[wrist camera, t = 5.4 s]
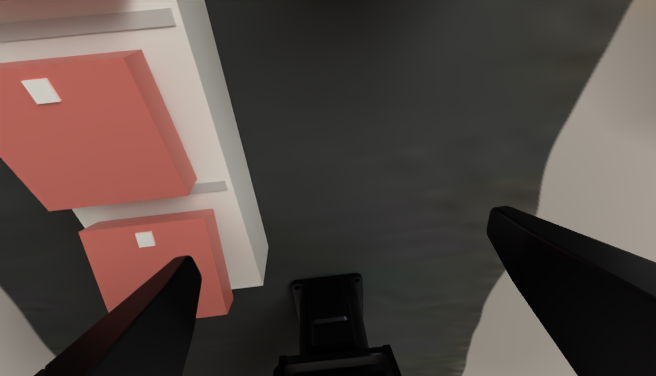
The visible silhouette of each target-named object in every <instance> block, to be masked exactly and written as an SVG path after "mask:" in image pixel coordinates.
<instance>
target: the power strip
mask: <svg viewBox="0 0 656 376" xmlns="http://www.w3.org/2000/svg"><path fill="white" fill-rule="evenodd" d="M140 49H142V52H143V54H144V56H145V59H146V61H147V63H148V66H149V68H150V70H151V73H152V75H153V77H154V80H155V82H156V84H157V86H158V89H159V91H160V93H161V96H162V98H163V100H164V103H165V105H166V107H167V110H168V112H169V114H170V117H171V119H172V121H173V124H174V126H175V128H176V130H177V133H178V135H179V137H180V140H181V142H182V144H183V147H184V149H185V151H186V154H187V156H188V158H189V161H190V163H191V165H192V168H193V170H194V172H195V174H196V177H197V180H196V182H195V184H194V186H193V188H192V190H191V192H190V194H189V196H180V197H172V198H163V199H154V200H145V201H136V202H127V203H118V204H109V205H100V206H91V207H82V208H73V209H72V210H73V212H74V213H75V215H76V216H77V217H78V219H79V220H80V222H81V223H82V225H83V226H84V228H87V227H89V226H91V225H93V224H95V223H97V222H100V221H109V220H118V219H126V218H135V217H144V216H153V215H162V214H171V213H179V212H188V211H197V210H206V209H213V210H214V214H215V218H216V223H217V227H218V232H219V236H220V241H221V245H222V250H223V254H224V259H225V263H226V267H227V272H228V276H229V281H230V285H231V289H239V288H247V287H255V286H263V282H264V274H265V267H266V260H267V253H268V243H267V239H266V236H265V232H264V228H263V224H262V220H261V216H260V212H259V209H258V205H257V201H256V197H255V193H254V189H253V186H252V182H251V178H250V174H249V170H248V166H247V162H246V159H245V155H244V151H243V147H242V143H241V139H240V136H239V132H238V128H237V124H236V120H235V116H234V112H233V109H232V105H231V101H230V97H229V93H228V89H227V86H226V82H225V78H224V74H223V70H222V66H221V62H220V59H219V55H218V51H217V47H216V43H215V39H214V36H213V32H212V28H211V24H210V20H209V16H208V12H207V9H206V5H205V1H204V0H3V1H0V63H5V62H15V61H26V60H36V59H46V58H57V57H67V56H77V55H88V54H98V53H109V52H119V51H129V50H140Z"/></svg>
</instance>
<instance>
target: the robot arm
mask: <svg viewBox="0 0 656 376" xmlns="http://www.w3.org/2000/svg"><path fill="white" fill-rule="evenodd" d="M487 235H488V238H489V239H490V241H491V243H492V245H493V247H494V249H495V250H496V252H497V254H498V256H499V258H500V259H501V261H502V263H503V265H504V267H505V269H506V270H507V272H508V274H509V276H510V277H511V279H512V281H513V282H514V284H515V285H516V287H517V288H518V290H519V291H520V293H521V294H522V296H523V297H524V299H525V300H526V302H527V303H528V304H529V306H530V307H531V308H532V310H533V312H534V313H535V315H536V316H537V317H538V319H539V320H540V322H541V323H542V325H543V326H544V328H545V329H546V330H547V332H548V333H549V335H550V336H551V338H552V339H553V341H554V342H555V343H556V345H557V346H558V348H559V349H560V351H561V352H562V354H563V355H564V356H565V358H566V359H567V361H568V362H569V364H570V365H571V366H572V368H573V369H574V371H575V372H576V374H577V375H578V376H656V262H653V261H651V260H648V259H645V258H643V257H640V256H637V255H635V254H632V253H630V252H627V251H624V250H622V249H619V248H617V247H614V246H611V245H609V244H606V243H604V242H601V241H598V240H595V239H593V238H590V237H587V236H585V235H583V234H580V233H577V232H575V231H572V230H570V229H567V228H564V227H562V226H559V225H556V224H554V223H551V222H549V221H546V220H543V219H541V218H538V217H536V216H533V215H530V214H528V213H525V212H522V211H520V210H517V209H515V208H512V207H509V206H500V207H495V208H492V210H491V211H490V216H489V220H488V225H487ZM201 284H202V276H201V273H200V271H199V269H198V267H197V265H196V263H195V261H194V259H193V258H192V257H191V256H190V255H184V256H178V257H175V258H174V259H172V260H171V261H170V262H169V263H168V264H166V265H165V266H164V267H163V268H162V269H160V270H159V271H158V272H157V273H156V274H154V275H153V276H152V277H151V278H150V279H149V280H147V281H146V282H145V283H144V284H143V285H141V286H140V287H139V288H138V289H137V290H135V291H134V292H133V293H132V294H131V295H129V296H128V297H127V298H126V299H125V300H124V301H122V302H121V303H120V304H119V305H118V306H116V307H115V308H114V309H113V310H112V311H110V312H109V313H108V314H107V315H106V316H104V317H103V318H102V319H101V320H100V321H98V322H97V323H96V324H95V325H94V326H93V327H91V328H90V329H89V330H88V331H87V332H85V333H84V334H83V335H82V336H81V337H79V338H78V339H77V340H76V341H75V342H73V343H72V344H71V345H70V346H69V347H68V348H66V349H65V350H64V351H63V352H62V353H60V354H59V355H58V356H57V357H56V358H54V359H53V360H52V361H51V362H50V363H49V364H47V365H46V366H45V369H42V370H40V371H39V372H38V373H37V374H35V375H34V376H181V375H182V372H183V368H184V364H185V361H186V357H187V354H188V350H189V346H190V343H191V339H192V335H193V331H194V326H195V320H196V314H197V308H198V302H199V296H200V290H201ZM291 289H292V293H293V297H294V302H295V306H296V311H297V315H298V320H299V324H300V355H296V356H287V355H283V356H279V364H278V367H276V368H275V369H274V372H273V376H401V373H400V370H399V368H398V365H397V362H396V360H395V357H394V355H393V352H392V349H391V347H390V345H383V346H382V347H373V348H369V347H368V342H367V337H366V332H365V327H364V322H363V285H362V276H361V274H358V273H355V274H347V275H339V276H330V277H322V278H314V279H306V280H298V281H294V282H292V288H291Z"/></svg>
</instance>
